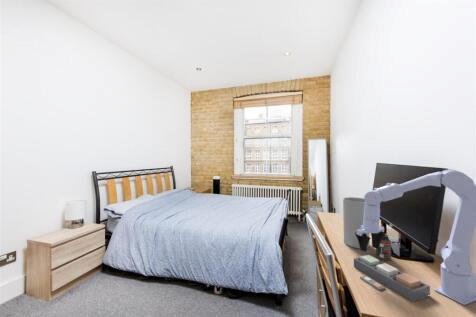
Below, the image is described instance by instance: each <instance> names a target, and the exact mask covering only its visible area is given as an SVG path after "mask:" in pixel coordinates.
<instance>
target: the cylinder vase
mask: <svg viewBox="0 0 476 317" xmlns="http://www.w3.org/2000/svg"><path fill="white" fill-rule="evenodd" d="M342 207H343V208H342V210H343V211H342V214H343V218H342V220H343V242H344V244H345V245H346V246H348V247H351V248H354V249H360V245H359V241H358V239H357V237H356V235H355V232H357V230H358V229H360V228H361V225H363V219H364V207H365V199H364V198H361V197H353V196H349V197H343V198H342ZM366 235H367V237H370V235H371V233H369V234H366ZM370 238H371V237H370ZM370 242H371V239H370V240H369V242H368V245H367V249H368V248H369V247H370V246H371V245H370V244H371V243H370Z"/></svg>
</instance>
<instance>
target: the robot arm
mask: <svg viewBox="0 0 476 317" xmlns="http://www.w3.org/2000/svg"><path fill="white" fill-rule="evenodd" d="M441 184H442V185H443V186H445V188H448V189H449V190H451V191H452V192H453V193H454V194H455V195H456V196H458V198H459V200H458V203H457V207H456V212H455V215H454V220H453V223H452V224H453V225H452V227H451V232H450V236H449V239H448V240H447V241H446V244H445V246H444V247H442V249H441V250H440V256H441V258H442V259H443V261H442V262H441V264H440V286H439V287H436V288H434V291H436V292H437V293H440V294H442V295H443V296H445V297H447V298H449V299H451V300H453V301H455V302H457V303H459V304H461V305H463V306H466V305H467V304H470V303H473V302H475V301H476V276H475V274H474V272H472V270H473V266H472V264H471V262H470V261H471V250H470V248H471V245H472V240H473V235H474V232H475V228H476V184H475V182H474V179H472V178H471V177H469V176H468V175H467V174H466V173H464V172H461V171H459V170H455V169H444V170H442V171H436V172H432V173H427V174H425V175H422V176H419V177H417V178H415V179H414V178H413V179H411V180H409V181H406V182H403V183H400V184H399V183H396V182H395V183H394V182H392V183H391V182H387V183H386V184H385V185H384V186H380V187H374V189H371V190H370V189H369V190H368V191H367V192H365V194H364V196H363V197H364V198H363V199H365V207H364V219H363V225H361V228H360V229H358V230H357V232H355V235H356V237H357V239H358V241H359V245H360V248H359V249H360V251H362V252H365V253H366V252H367V250H368V248H367V245H368V242H369V240H370V241H371V247H372V248H374V249H375V250H376V249H378V248H379V245H380V243H381V241H382V239H383V238H384V237H385V234H386V233H385V232H384V231H385V227H384V226H381V225H380V222H381V221H380V218H381V208H380V207H381V203H382V202H388V201H391V200H395V199H398V198H402V196H403V195H404V193H407V192H408V191H413V190H417V189H421V188H424V187H428V186H432V187H439V188H441V187H442V185H441ZM366 234H370V235H371V237H367V235H366Z"/></svg>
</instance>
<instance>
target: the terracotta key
mask: <svg viewBox="0 0 476 317" xmlns="http://www.w3.org/2000/svg"><path fill="white" fill-rule="evenodd" d="M396 281H397V282H399V283H401V284H403V285H405V286H406V287H408V288H410V289H412V290H413V289H416V288H419V287H420V281H421V280H420V279H418V278H416V277H414V276H413V275H410V274H408V273H406V272H403V274H399V275H396Z"/></svg>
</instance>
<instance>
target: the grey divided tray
mask: <svg viewBox="0 0 476 317" xmlns="http://www.w3.org/2000/svg"><path fill="white" fill-rule="evenodd" d="M360 257H361V256H359V257H354V258H353V267H355V268H356V269H358V270H360V271H361V272H363V273H364V274H366V275H368V277H369V276H370V278H373V280H374V279H375V281H376V280H377V281H378V283H379V282H380V283H381V284H382V285H383V286H386V287H387V288H389V289H391V290H392V291H394V290H395V292H396V293H398V294H400V295H401V296H403V297H404V296H405V297H404V298H406V299H408V300H409V299H410V300H409V301H411V300H412V301H411V302H413V301H414V302H416V301H415V300H417V301H419V300H418V299H420V300H422V299H421V298H423V297H426V296H428V295H430V296H431V286H430V285H428V284H426V283H425V282H422V281H421V280H420V287H419V288H416V289H413V290H412V289H410V288H408V287H406V286H405V285H403V284H401V283H399V282H397V281H396V275H394V276H391V277H388V276H386V275H385V274H383V273H381V272H379V271H377V270H376V266H372V267H370V266H368V265H367V264H365V263H363V262H361V261H360ZM384 263H385V262H383V261H380V260H379V264H384ZM403 273H404V272H402V271H400V270H399V269H398V275H399V274H403ZM428 297H429V296H428ZM426 298H427V297H426ZM423 299H424V298H423Z"/></svg>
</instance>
